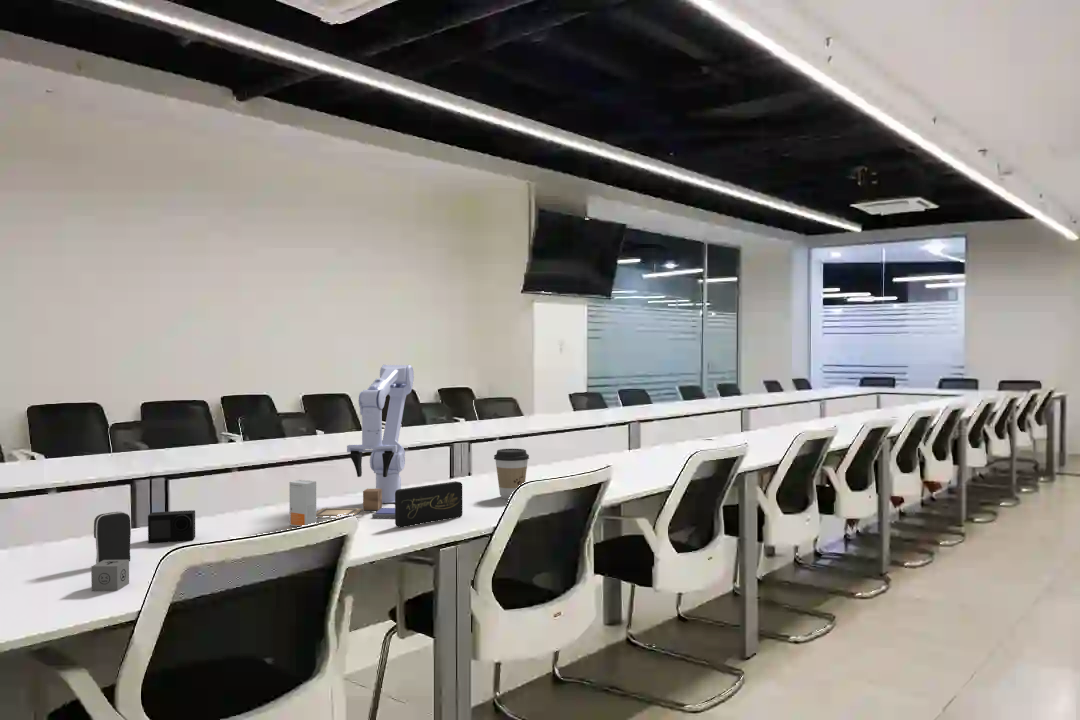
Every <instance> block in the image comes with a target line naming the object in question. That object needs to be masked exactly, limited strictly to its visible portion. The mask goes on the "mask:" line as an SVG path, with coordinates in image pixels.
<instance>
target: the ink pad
mask: <svg viewBox="0 0 1080 720" xmlns="http://www.w3.org/2000/svg"><path fill="white" fill-rule="evenodd" d="M371 517H372V519H395V507H382V508H380V509H379V510H378V511H376V512H374V513H372V515H371Z"/></svg>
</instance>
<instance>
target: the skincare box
mask: <svg viewBox="0 0 1080 720" xmlns="http://www.w3.org/2000/svg"><path fill="white" fill-rule="evenodd" d="M316 512H317V481H313V480H305V479H304V480H303V479H297V480H291V481H289V526H290V525H291V526H290V527H297V526H302V525H308V524H311V523H315V522H316V523H317V518H316ZM297 528H298V527H297Z"/></svg>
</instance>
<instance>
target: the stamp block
mask: <svg viewBox="0 0 1080 720" xmlns="http://www.w3.org/2000/svg"><path fill="white" fill-rule="evenodd" d="M362 506H363V507H362V509H363V510H362V512H363V511H378V510H379V509H380V508H383V503H382V489H376V488H366V489H364V490H362Z"/></svg>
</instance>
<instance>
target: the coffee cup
mask: <svg viewBox="0 0 1080 720" xmlns="http://www.w3.org/2000/svg"><path fill="white" fill-rule="evenodd" d="M493 459H494V460H495V466H496V475H497V481H498V483H497V484H498V490H499V496H500V498H501V499H502V498H504V500H509V499H508V498H509V497H510V495H511V494H512V492H513V491H514V490H515V489H516V488H517V487H518V486H519V485H521V484H522V483H524V482H525V483H526V479H527V478H526V477H527V468H528V461H529V459H530V455H529V453H527V450H526V449H524V448H500V449H497V450H496V454H494V455H493Z"/></svg>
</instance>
